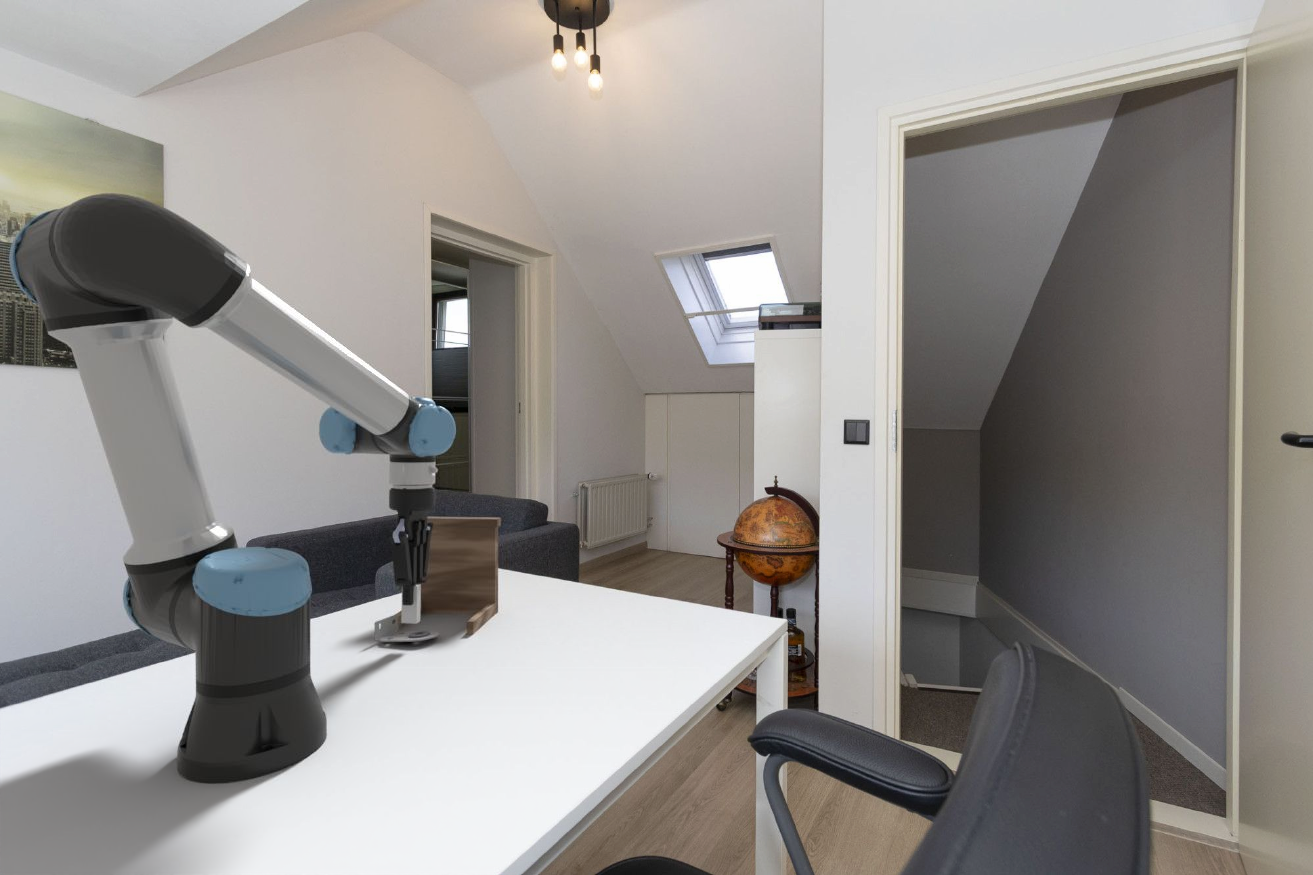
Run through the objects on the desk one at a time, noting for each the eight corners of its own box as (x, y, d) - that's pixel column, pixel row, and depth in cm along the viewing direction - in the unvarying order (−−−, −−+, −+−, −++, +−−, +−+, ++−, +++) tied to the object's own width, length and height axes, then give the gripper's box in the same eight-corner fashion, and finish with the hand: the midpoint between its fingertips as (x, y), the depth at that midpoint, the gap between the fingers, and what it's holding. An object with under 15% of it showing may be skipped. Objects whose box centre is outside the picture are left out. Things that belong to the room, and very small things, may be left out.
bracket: (425, 645, 111) (426, 625, 111) (373, 641, 113) (374, 621, 113) (445, 636, 118) (446, 617, 118) (396, 632, 120) (396, 614, 120)
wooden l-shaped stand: (475, 635, 119) (475, 529, 119) (384, 632, 120) (383, 527, 120) (500, 612, 134) (500, 517, 133) (418, 610, 135) (418, 516, 134)
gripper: (417, 490, 106) (415, 634, 106) (448, 484, 119) (446, 612, 119) (373, 489, 106) (371, 632, 106) (408, 483, 119) (406, 611, 119)
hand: (410, 621), depth 113 cm, fingers closed
